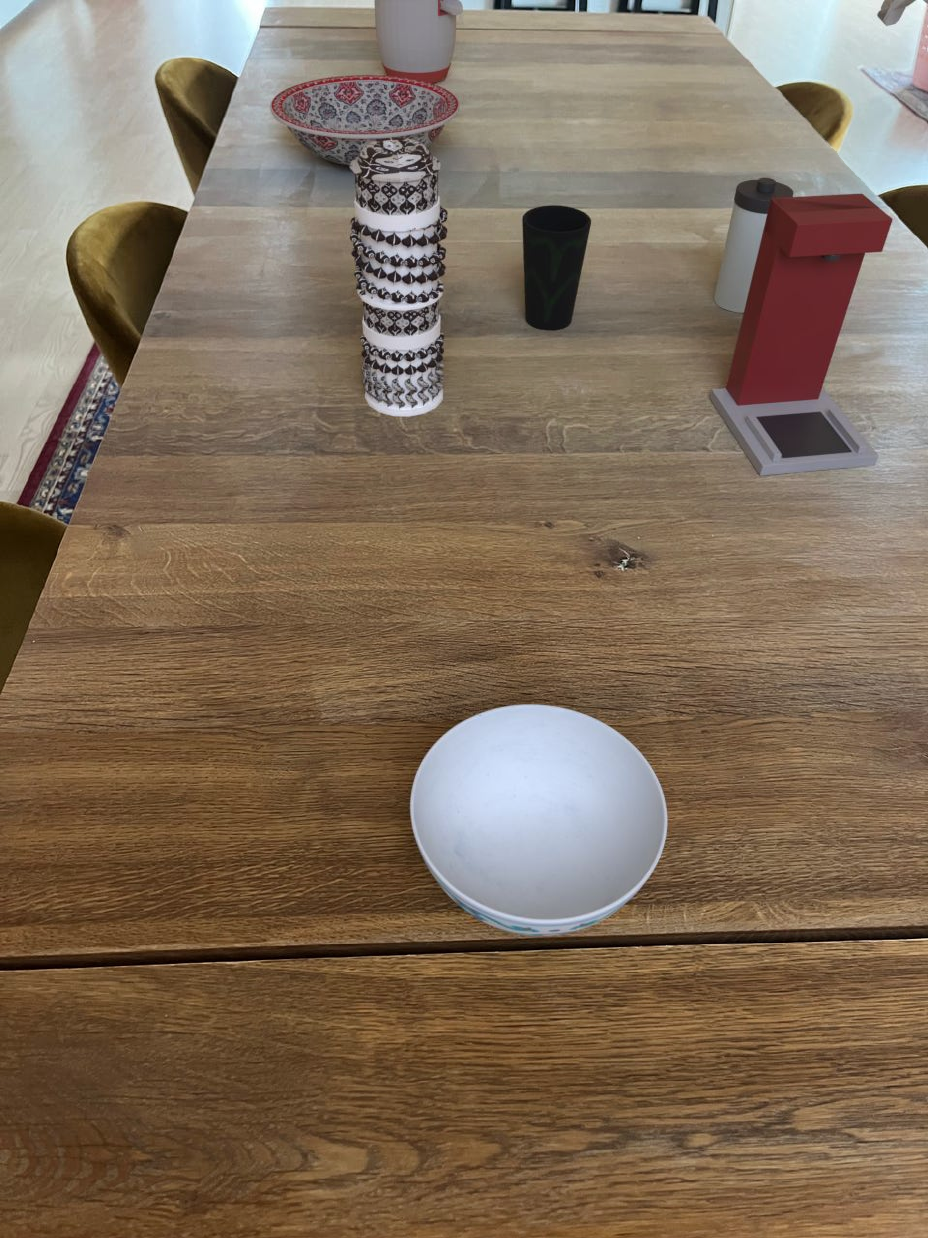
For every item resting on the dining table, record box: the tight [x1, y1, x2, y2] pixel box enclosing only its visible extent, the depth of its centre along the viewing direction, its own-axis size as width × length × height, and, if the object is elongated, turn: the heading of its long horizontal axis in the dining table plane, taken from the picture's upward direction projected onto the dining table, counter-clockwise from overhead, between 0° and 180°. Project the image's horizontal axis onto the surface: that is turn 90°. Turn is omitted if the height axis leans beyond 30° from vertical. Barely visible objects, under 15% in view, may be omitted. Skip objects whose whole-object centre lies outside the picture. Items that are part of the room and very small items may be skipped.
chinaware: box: [409, 703, 668, 937], centre depth 58 cm, size 15×15×8 cm
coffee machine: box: [709, 193, 894, 477], centre depth 89 cm, size 14×12×21 cm
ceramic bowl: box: [269, 74, 461, 166], centre depth 148 cm, size 29×29×8 cm
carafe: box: [713, 177, 795, 314], centre depth 112 cm, size 6×6×14 cm
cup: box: [521, 205, 592, 331], centre depth 109 cm, size 8×8×12 cm
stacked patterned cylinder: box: [349, 137, 449, 418], centre depth 92 cm, size 9×9×25 cm
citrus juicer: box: [374, 0, 464, 84], centre depth 174 cm, size 16×17×20 cm
